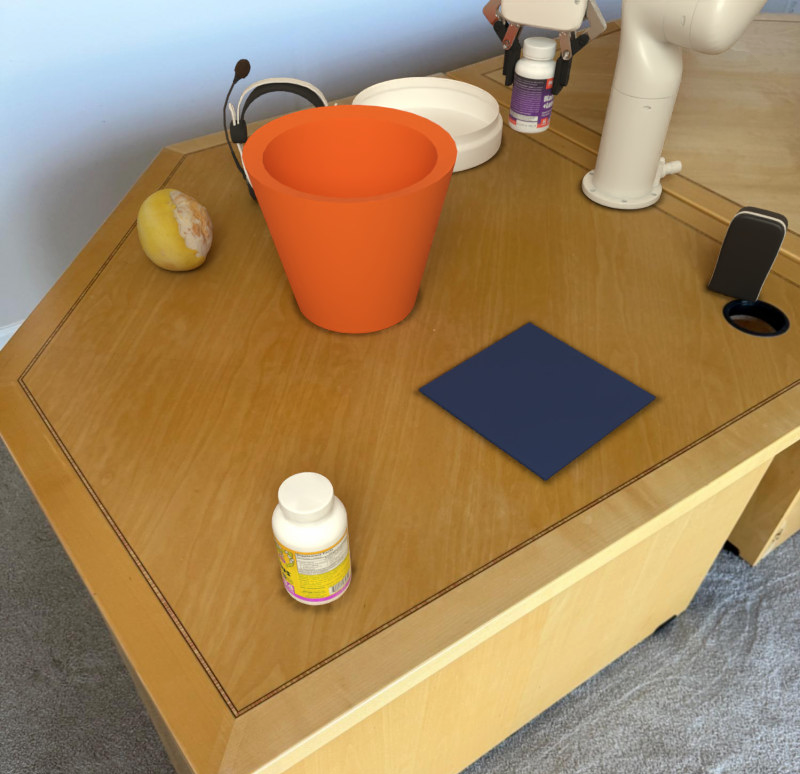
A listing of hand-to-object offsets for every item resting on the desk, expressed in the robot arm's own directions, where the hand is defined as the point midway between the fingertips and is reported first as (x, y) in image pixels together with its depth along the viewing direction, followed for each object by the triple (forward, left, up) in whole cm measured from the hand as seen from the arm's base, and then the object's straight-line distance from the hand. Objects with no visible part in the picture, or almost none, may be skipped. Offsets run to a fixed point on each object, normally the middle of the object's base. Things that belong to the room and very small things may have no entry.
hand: (534, 85), depth 96 cm
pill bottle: (0, 0, -5) cm, 5 cm away
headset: (+26, -25, -22) cm, 42 cm away
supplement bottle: (+46, +47, -22) cm, 70 cm away
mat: (+13, +31, -22) cm, 40 cm away
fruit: (+46, -13, -22) cm, 53 cm away
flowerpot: (+26, +4, -22) cm, 34 cm away
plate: (-2, -37, -22) cm, 43 cm away
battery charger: (-23, +22, -22) cm, 39 cm away
